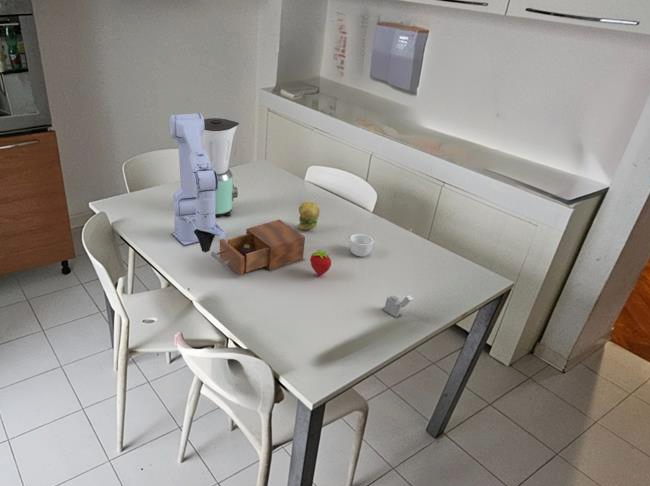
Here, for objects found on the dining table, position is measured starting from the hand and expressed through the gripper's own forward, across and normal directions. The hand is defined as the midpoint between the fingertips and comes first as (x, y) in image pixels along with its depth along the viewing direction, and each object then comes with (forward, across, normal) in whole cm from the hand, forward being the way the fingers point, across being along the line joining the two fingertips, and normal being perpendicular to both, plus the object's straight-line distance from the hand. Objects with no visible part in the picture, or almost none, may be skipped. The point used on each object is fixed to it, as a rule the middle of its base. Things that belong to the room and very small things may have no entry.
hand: (205, 250), depth 159 cm
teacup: (+10, -25, -47) cm, 54 cm away
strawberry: (+10, -24, -26) cm, 37 cm away
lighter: (+10, -52, -25) cm, 59 cm away
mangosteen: (+7, -4, -14) cm, 17 cm away
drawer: (+9, -3, -12) cm, 15 cm away
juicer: (+10, +31, -34) cm, 47 cm away
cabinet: (+9, -6, -25) cm, 28 cm away
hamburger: (+10, -3, -48) cm, 49 cm away
